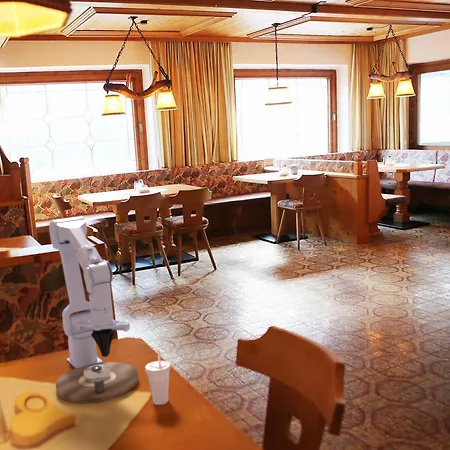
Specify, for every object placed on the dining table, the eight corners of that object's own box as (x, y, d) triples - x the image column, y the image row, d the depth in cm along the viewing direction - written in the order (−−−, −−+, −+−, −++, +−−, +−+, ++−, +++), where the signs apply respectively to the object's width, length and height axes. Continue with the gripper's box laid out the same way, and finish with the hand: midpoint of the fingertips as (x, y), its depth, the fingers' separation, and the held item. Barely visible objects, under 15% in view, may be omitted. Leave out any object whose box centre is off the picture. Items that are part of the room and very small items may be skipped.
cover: (79, 381, 160) (77, 370, 160) (96, 371, 166) (95, 361, 166) (99, 385, 157) (97, 374, 156) (115, 374, 163) (114, 364, 162)
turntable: (38, 393, 158) (36, 377, 157) (93, 362, 176) (92, 348, 176) (102, 408, 147) (100, 391, 146) (154, 373, 166) (152, 358, 165)
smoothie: (169, 407, 146) (164, 354, 144) (144, 406, 148) (139, 353, 145) (176, 396, 152) (172, 344, 150) (152, 395, 154) (148, 344, 151)
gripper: (69, 311, 155) (74, 360, 158) (120, 312, 152) (125, 362, 154) (81, 303, 162) (86, 349, 164) (130, 303, 159) (135, 351, 161)
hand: (105, 355), depth 160 cm, fingers closed
